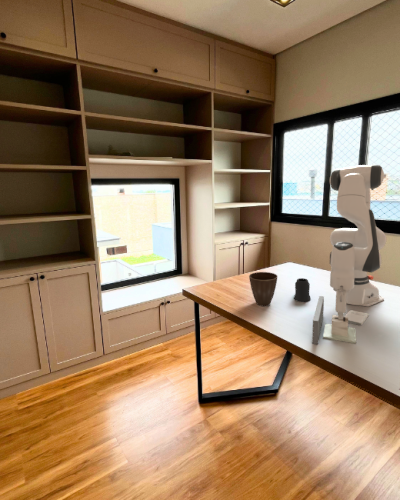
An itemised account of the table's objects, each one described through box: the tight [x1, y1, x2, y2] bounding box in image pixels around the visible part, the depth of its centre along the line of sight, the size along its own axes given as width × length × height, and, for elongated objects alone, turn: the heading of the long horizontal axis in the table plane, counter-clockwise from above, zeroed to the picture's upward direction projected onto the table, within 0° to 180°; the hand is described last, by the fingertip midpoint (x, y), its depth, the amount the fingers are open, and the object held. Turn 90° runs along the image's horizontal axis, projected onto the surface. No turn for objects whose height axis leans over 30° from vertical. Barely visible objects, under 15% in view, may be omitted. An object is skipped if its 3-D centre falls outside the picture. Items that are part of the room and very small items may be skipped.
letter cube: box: [331, 314, 349, 336], centre depth 122 cm, size 6×6×6 cm
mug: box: [293, 277, 312, 303], centre depth 162 cm, size 12×9×11 cm
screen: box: [311, 295, 325, 345], centre depth 127 cm, size 28×2×10 cm, turn 153°
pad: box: [322, 323, 357, 344], centre depth 122 cm, size 12×12×1 cm
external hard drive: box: [343, 309, 369, 326], centre depth 135 cm, size 2×8×12 cm
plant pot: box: [248, 271, 278, 307], centre depth 157 cm, size 15×15×16 cm
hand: (340, 313), depth 121 cm, fingers open, 8 cm apart
